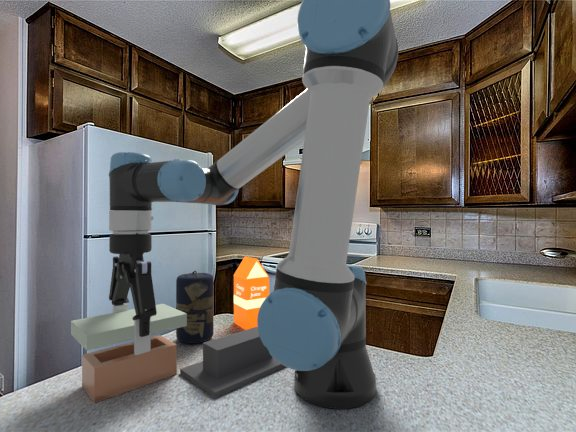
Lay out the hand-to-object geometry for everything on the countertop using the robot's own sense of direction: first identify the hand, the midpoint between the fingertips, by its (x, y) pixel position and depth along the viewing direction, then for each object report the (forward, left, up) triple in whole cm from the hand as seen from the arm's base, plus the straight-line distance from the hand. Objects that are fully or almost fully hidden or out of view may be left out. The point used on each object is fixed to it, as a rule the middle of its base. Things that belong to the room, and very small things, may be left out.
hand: (130, 344), depth 65 cm
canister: (+11, -20, -7) cm, 24 cm away
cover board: (0, 0, +3) cm, 3 cm away
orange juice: (+10, -38, -7) cm, 40 cm away
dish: (0, 0, -7) cm, 7 cm away
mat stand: (-11, -18, -7) cm, 22 cm away
